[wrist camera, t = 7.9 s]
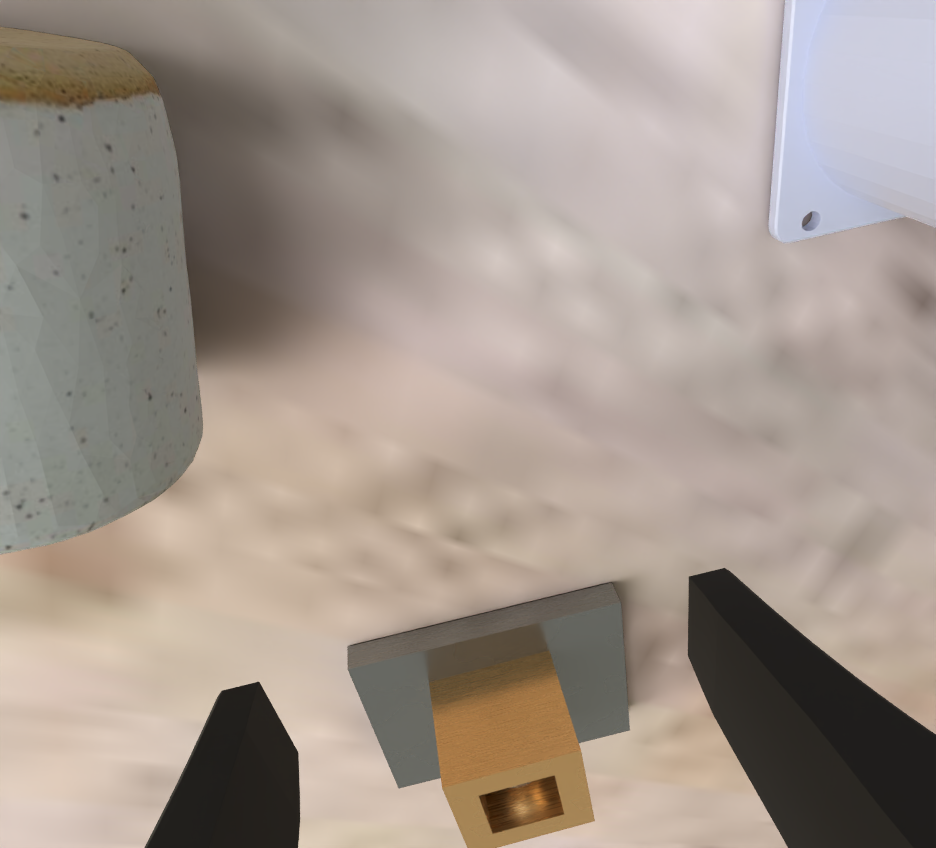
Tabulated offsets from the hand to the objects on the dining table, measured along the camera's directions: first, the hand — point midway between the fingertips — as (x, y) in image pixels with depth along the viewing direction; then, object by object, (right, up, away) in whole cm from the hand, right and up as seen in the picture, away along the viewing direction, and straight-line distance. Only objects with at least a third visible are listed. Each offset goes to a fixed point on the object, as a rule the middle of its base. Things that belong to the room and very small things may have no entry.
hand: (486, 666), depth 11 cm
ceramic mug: (-11, +9, +5) cm, 15 cm away
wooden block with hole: (+1, -7, +15) cm, 17 cm away
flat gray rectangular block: (+1, -6, +16) cm, 17 cm away
